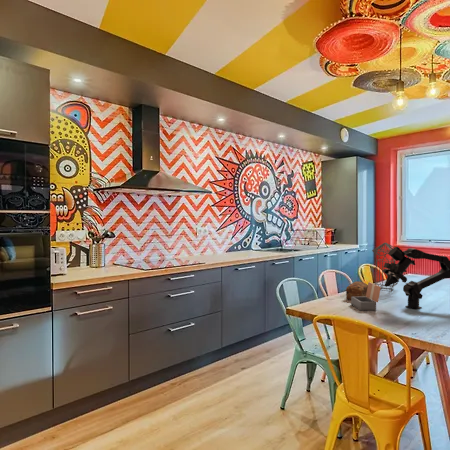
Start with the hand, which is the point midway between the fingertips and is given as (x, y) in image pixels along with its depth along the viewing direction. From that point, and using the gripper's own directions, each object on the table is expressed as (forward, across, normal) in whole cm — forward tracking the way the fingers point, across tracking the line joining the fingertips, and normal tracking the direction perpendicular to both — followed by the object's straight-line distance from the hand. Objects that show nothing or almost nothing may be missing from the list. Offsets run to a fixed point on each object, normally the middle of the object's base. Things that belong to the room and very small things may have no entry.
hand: (385, 286), depth 205 cm
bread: (+14, -25, +4) cm, 29 cm away
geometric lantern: (-5, -50, +27) cm, 57 cm away
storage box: (+18, 0, -2) cm, 18 cm away
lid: (+7, 0, -4) cm, 8 cm away
